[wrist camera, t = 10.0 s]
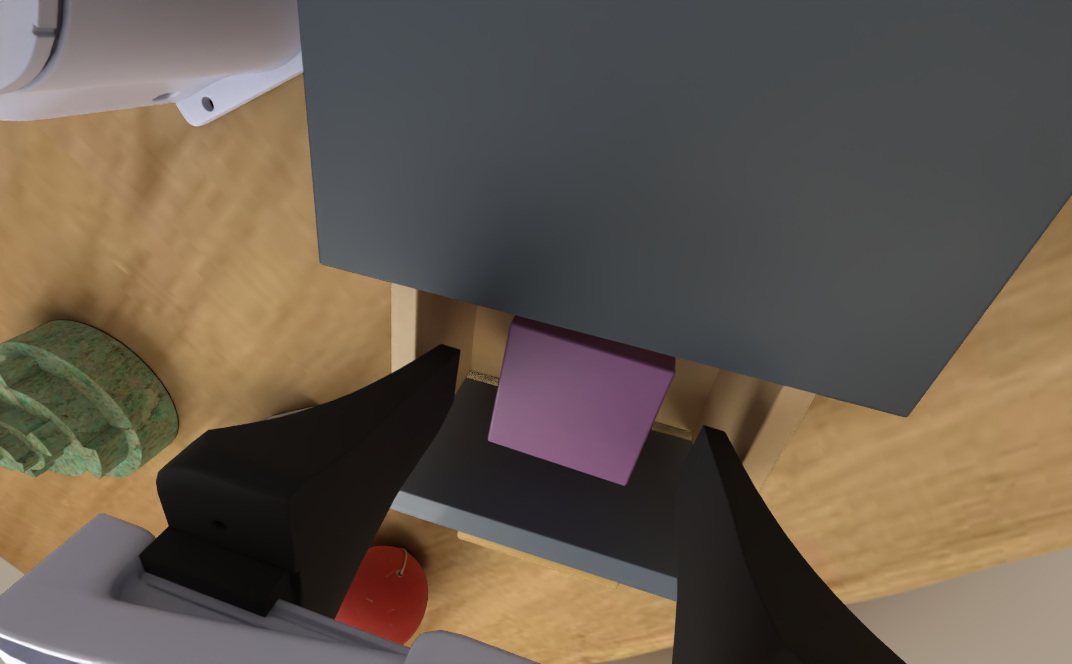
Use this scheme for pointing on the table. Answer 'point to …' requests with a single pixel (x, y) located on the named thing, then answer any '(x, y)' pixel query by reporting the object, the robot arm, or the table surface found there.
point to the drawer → (561, 492)
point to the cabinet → (700, 169)
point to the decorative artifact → (79, 404)
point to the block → (578, 398)
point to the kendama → (386, 595)
